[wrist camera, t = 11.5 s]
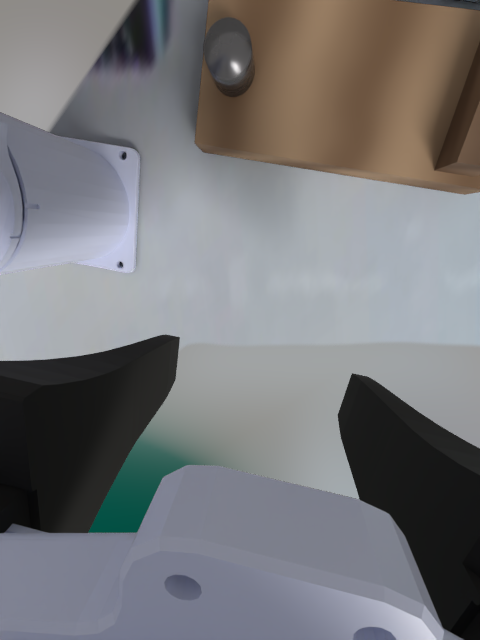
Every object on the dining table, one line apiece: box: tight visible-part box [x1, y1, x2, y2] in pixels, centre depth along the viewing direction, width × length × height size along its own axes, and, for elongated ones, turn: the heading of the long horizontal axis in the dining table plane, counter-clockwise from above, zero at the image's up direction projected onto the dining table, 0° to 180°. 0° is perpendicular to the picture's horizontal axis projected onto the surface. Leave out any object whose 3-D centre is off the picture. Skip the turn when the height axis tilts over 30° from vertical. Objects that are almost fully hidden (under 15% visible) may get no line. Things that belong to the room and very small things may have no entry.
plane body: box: [195, 0, 480, 194], centre depth 14 cm, size 16×7×4 cm, turn 80°
